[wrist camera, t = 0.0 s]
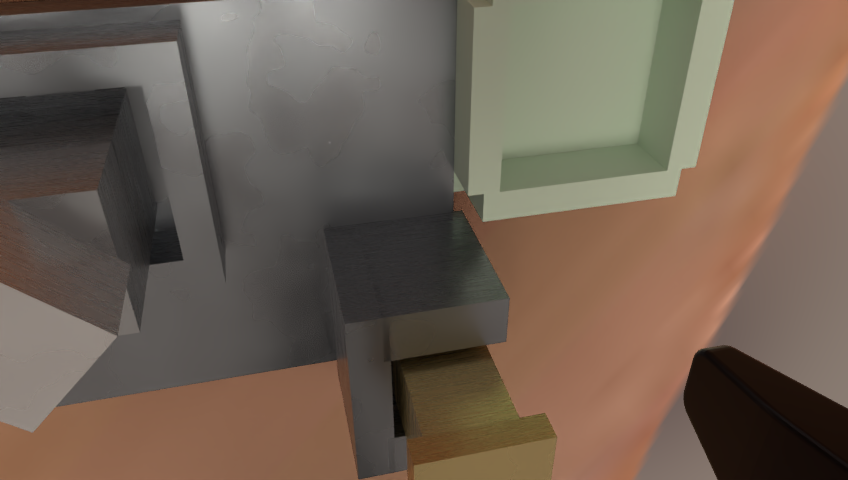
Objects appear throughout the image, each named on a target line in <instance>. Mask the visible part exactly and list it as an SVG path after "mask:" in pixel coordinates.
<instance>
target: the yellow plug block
mask: <svg viewBox="0 0 848 480" xmlns="http://www.w3.org/2000/svg"><path fill="white" fill-rule="evenodd" d="M393 381H394V396H395V399H396V403H397V407H398V410H399V414H400V418H401V421H402V425H403V428H404V432H405V436H406V439H407V472H408V480H551V476H552V469H553V462H554V455H555V448H556V441H557V436H556V434H555V432H554V430H553V428H552V426H551V424H550V422H549V420H548V418H547V416H546V414H545V413H543V414H538V415H533V416H527V417H522V418H519V416H518V414H517V412H516V409H515V407H514V405H513V403H512V401H511V398H510V396H509V394H508V392H507V390H506V388H505V385H504V383H503V381H502V379H501V377H500V374H499V372H498V370H497V368H496V366H495V363H494V361H493V359H492V357H491V355H490V353H489V350H488V348H487V346H486V345H483V346H477V347H471V348H465V349H459V350H453V351H447V352H441V353H436V354H430V355H424V356H418V357H412V358H406V359H400V360H394V361H393Z"/></svg>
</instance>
